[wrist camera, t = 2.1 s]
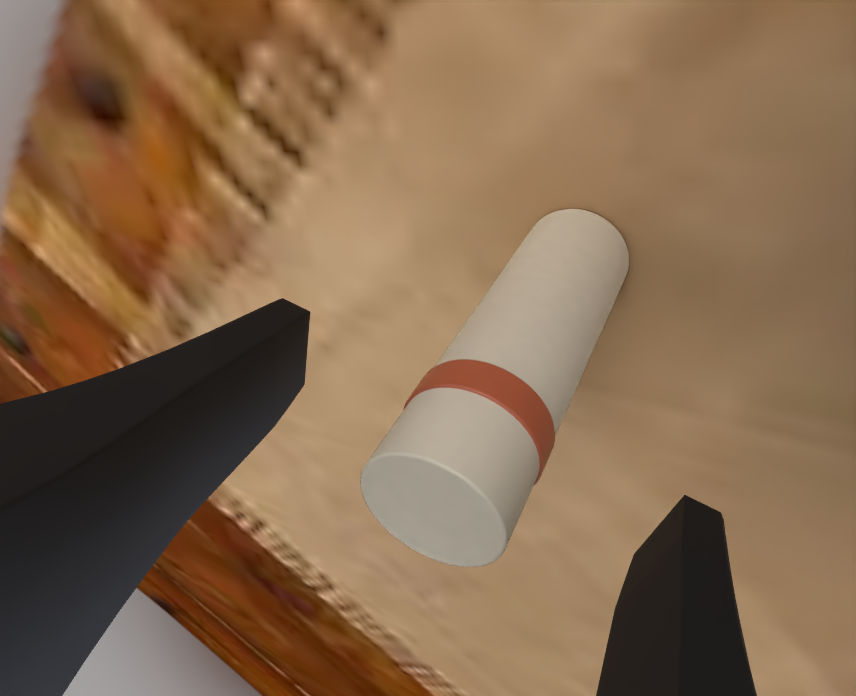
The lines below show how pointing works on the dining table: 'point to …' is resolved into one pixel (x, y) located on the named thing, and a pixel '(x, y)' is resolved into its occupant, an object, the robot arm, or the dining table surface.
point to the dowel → (498, 395)
